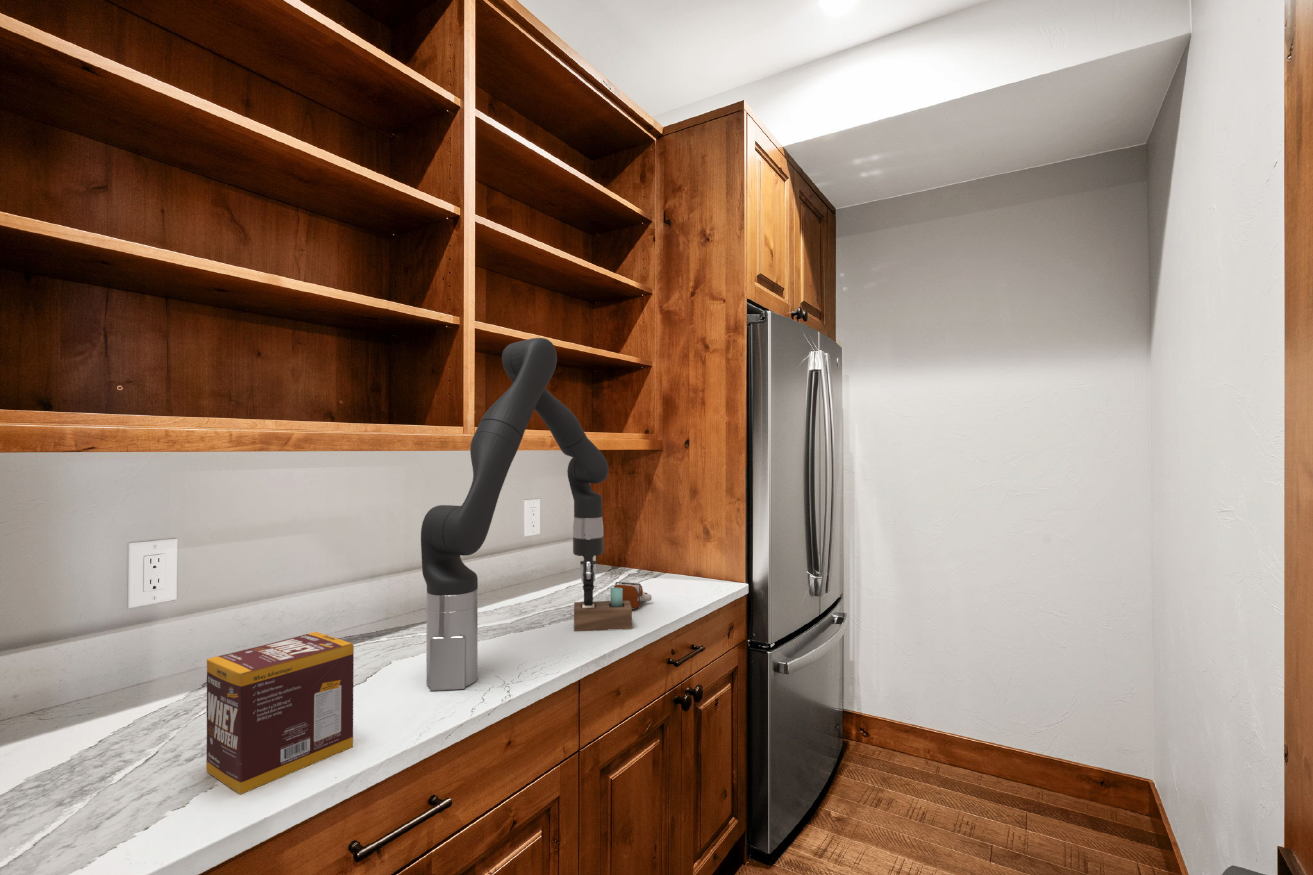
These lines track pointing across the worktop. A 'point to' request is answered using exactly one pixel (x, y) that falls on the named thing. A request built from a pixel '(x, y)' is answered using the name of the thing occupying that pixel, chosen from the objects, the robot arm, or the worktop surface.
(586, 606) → the peg cream
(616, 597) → the peg teal
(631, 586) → the toy
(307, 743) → the supplement box
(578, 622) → the socket block
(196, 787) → the worktop surface
